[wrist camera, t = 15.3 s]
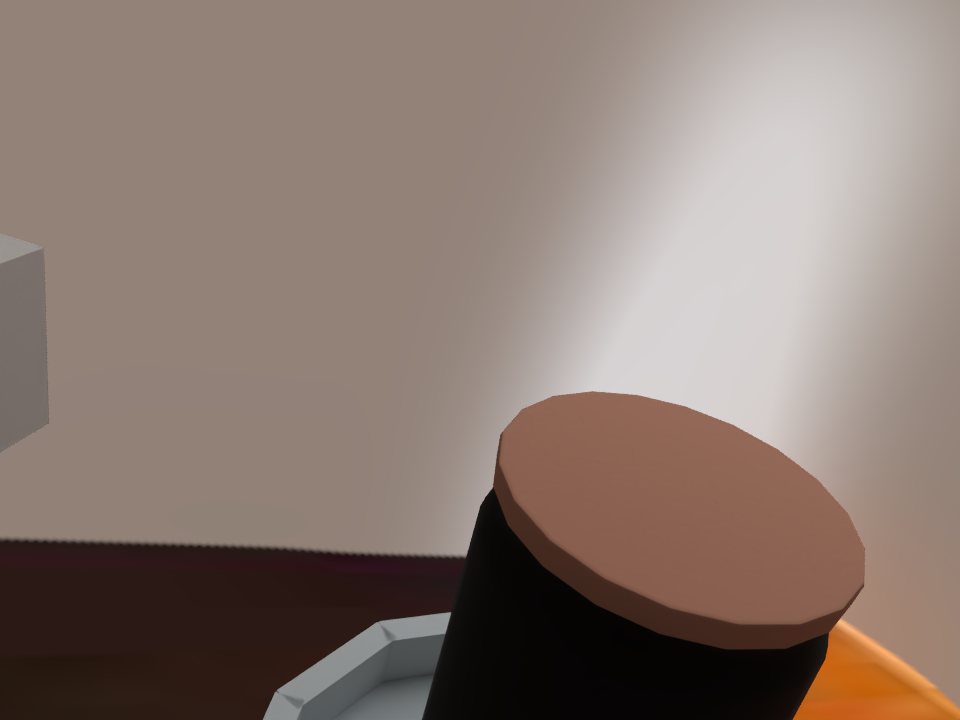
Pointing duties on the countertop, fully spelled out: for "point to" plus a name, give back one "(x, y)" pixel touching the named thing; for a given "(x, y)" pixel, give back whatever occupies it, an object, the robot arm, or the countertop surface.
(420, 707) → the bowl
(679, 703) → the coffee jar
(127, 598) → the countertop surface
